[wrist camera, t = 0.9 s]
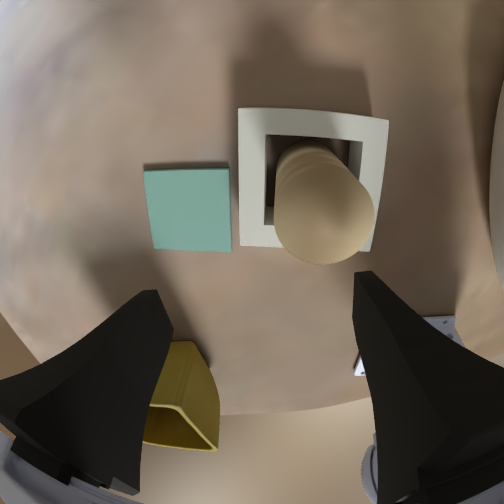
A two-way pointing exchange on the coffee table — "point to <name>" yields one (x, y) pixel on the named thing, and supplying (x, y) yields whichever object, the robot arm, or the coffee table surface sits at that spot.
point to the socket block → (302, 124)
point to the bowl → (498, 190)
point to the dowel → (320, 205)
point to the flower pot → (184, 402)
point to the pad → (189, 208)
